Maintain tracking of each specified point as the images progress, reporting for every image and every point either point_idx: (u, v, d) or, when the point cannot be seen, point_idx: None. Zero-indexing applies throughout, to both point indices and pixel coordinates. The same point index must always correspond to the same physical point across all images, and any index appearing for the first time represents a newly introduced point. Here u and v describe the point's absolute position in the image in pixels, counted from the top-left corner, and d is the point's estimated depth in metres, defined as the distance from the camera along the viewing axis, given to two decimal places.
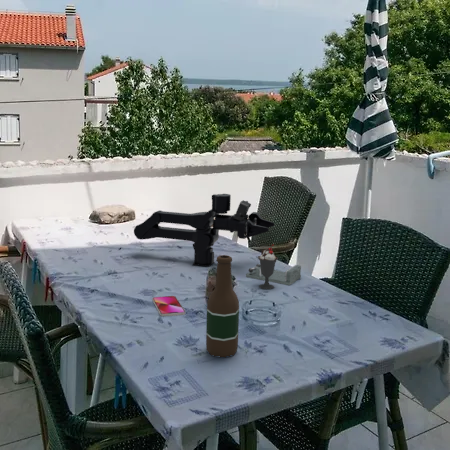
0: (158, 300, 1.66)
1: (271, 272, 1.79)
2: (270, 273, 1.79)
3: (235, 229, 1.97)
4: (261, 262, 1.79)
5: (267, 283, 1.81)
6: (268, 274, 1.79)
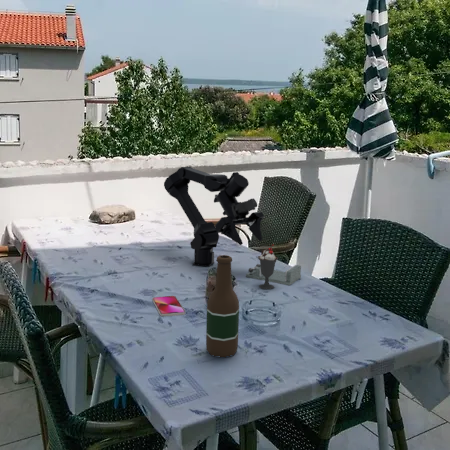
0: (158, 300, 1.66)
1: (271, 272, 1.79)
2: (270, 273, 1.79)
3: (227, 215, 1.89)
4: (261, 262, 1.79)
5: (267, 283, 1.81)
6: (268, 274, 1.79)
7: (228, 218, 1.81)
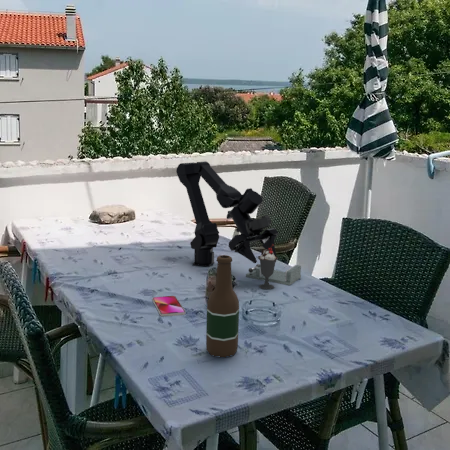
0: (158, 300, 1.66)
1: (271, 272, 1.79)
2: (270, 273, 1.79)
3: (240, 232, 1.85)
4: (261, 262, 1.79)
5: (267, 283, 1.81)
6: (268, 274, 1.79)
7: (242, 236, 1.77)
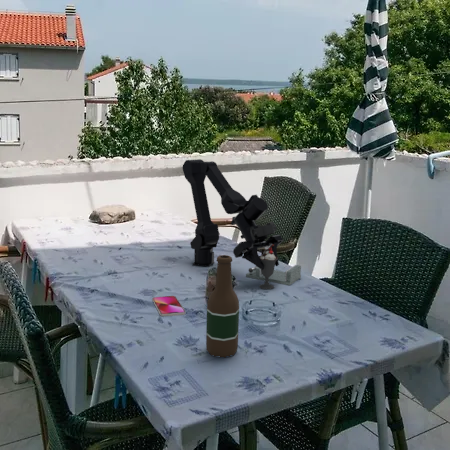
0: (158, 300, 1.66)
1: (271, 272, 1.79)
2: (270, 273, 1.79)
3: (245, 239, 1.83)
4: None
5: (267, 283, 1.81)
6: (268, 274, 1.79)
7: (247, 243, 1.76)
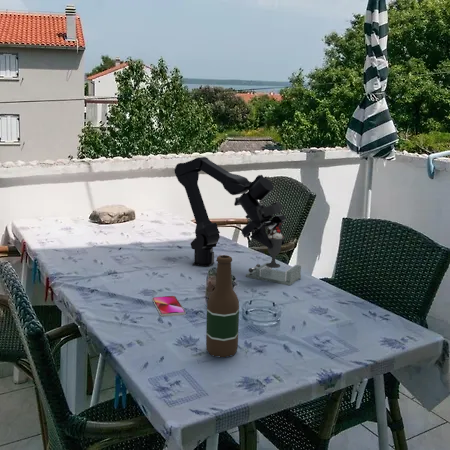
0: (158, 300, 1.66)
1: (278, 251, 1.82)
2: (277, 252, 1.82)
3: (250, 219, 1.85)
4: None
5: (274, 262, 1.84)
6: (276, 253, 1.82)
7: (256, 222, 1.78)
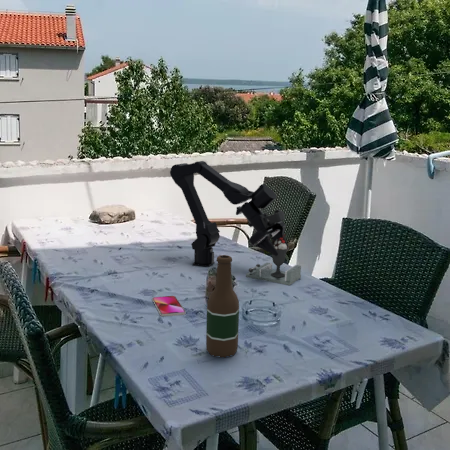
0: (158, 300, 1.66)
1: (283, 260, 1.89)
2: (283, 261, 1.89)
3: (254, 227, 1.90)
4: None
5: (279, 271, 1.91)
6: (281, 263, 1.89)
7: (264, 230, 1.83)
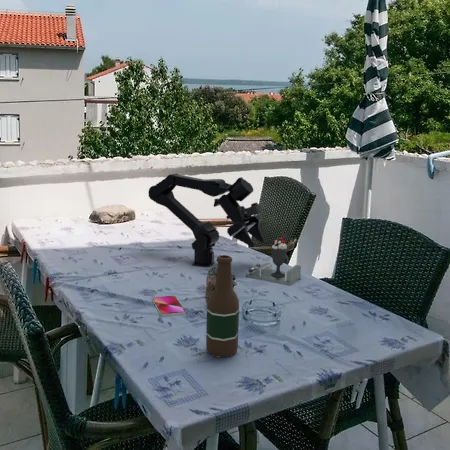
0: (158, 300, 1.66)
1: (283, 260, 1.89)
2: (283, 261, 1.89)
3: (231, 219, 1.94)
4: (274, 252, 1.88)
5: (279, 271, 1.91)
6: (281, 263, 1.89)
7: (242, 222, 1.87)
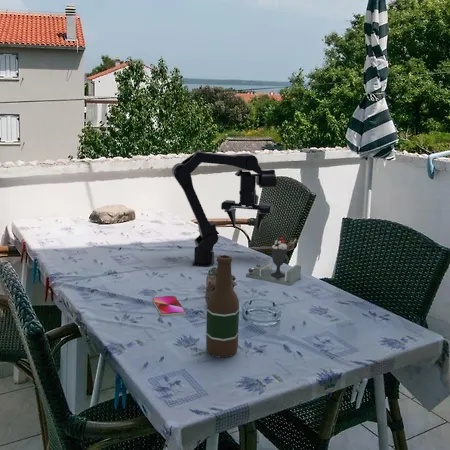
0: (158, 300, 1.66)
1: (283, 260, 1.89)
2: (283, 262, 1.89)
3: (252, 197, 2.02)
4: (274, 252, 1.88)
5: (279, 271, 1.91)
6: (281, 263, 1.89)
7: None
